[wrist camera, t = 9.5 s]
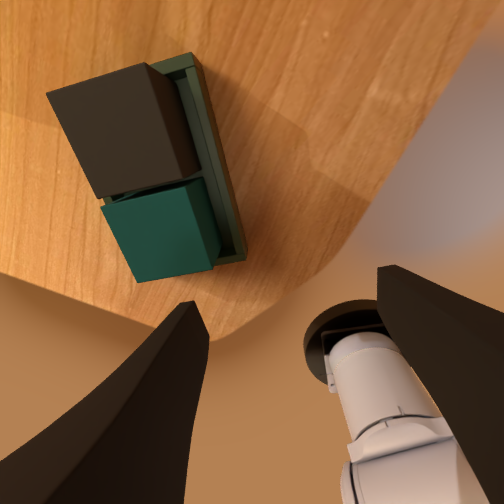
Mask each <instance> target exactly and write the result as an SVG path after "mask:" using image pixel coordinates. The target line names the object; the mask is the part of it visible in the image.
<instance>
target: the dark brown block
mask: <svg viewBox="0 0 504 504" xmlns="http://www.w3.org/2000/svg"><path fill="white" fill-rule="evenodd" d="M46 96H47V98H48V100H49V102H50V104H51V106H52V108H53V110H54V112H55V114H56V116H57V118H58V120H59V122H60V124H61V126H62V128H63V130H64V132H65V134H66V136H67V138H68V140H69V142H70V145H71V147H72V149H73V151H74V153H75V155H76V157H77V159H78V161H79V163H80V165H81V167H82V169H83V171H84V173H85V175H86V177H87V179H88V181H89V183H90V185H91V187H92V189H93V192H94V194H95V196H96V198H97V199H101V198H105V197H109V196H114V195H118V194H122V193H126V192H130V191H135V190H139V189H143V188H147V187H151V186H156V185H160V184H164V183H168V182H172V181H177V180H181V179H184V178H186V177H188V176H190V175H192V174H194V173H196V172H198V171H200V170H202V168H201V164H200V161H199V158H198V154H197V151H196V148H195V144H194V141H193V137H192V134H191V131H190V127H189V124H188V121H187V117H186V114H185V110H184V107H183V104H182V100H181V97H180V94H179V90H178V87H177V84H176V82H174V81H173V80H171V79H169V78H168V77H166V76H165V75H163V74H162V73H160V72H159V71H157V70H156V69H154V68H153V67H151V66H150V65H148V64H146V63H145V62H143V63H140V64H137V65H134V66H130V67H127V68H124V69H121V70H118V71H114V72H111V73H108V74H105V75H102V76H98V77H95V78H92V79H89V80H86V81H82V82H79V83H76V84H73V85H70V86H66V87H63V88H60V89H57V90H54V91H50V92H47V93H46Z"/></svg>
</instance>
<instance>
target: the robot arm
mask: <svg viewBox="0 0 504 504" xmlns="http://www.w3.org/2000/svg"><path fill="white" fill-rule="evenodd" d="M377 270H378V272H377V275H378V276H377V311H378V313H379V315H380V317H381V319H382V321H383V323H380V324H373V325H366V326H359V327H351V328H344V329H337V330H330V331H324V332H322V334H321V338H322V345H323V352H324V359H325V366H326V373H327V381H328V386H329V391H330V392H331V393H338V394H339V398H340V401H341V405H342V408H343V411H344V415H345V418H346V422H347V425H348V428H349V432H350V435H351V438H352V443H350V444H348V445H347V447H348V451H349V455H350V458H351V461H347V462H345V463H344V465H343V469H342V474H341V480H340V486H341V495H342V501H343V504H504V313H503V312H500V311H498V310H495V309H493V308H490V307H488V306H485V305H483V304H480V303H478V302H476V301H473V300H471V299H469V298H467V297H464V296H462V295H460V294H457V293H455V292H453V291H451V290H449V289H446V288H444V287H442V286H440V285H438V284H436V283H433V282H431V281H429V280H427V279H425V278H423V277H421V276H419V275H417V274H414V273H412V272H410V271H408V270H406V269H404V268H402V267H399V266H397V265H389V266H384V267H378V269H377ZM209 337H210V336H209V334H208V331H207V329H206V327H205V324H204V322H203V320H202V317H201V315H200V313H199V310H198V308H197V306H196V303H195V301H188V302H182V303H180V304H179V305H178V306H176V308H175V309H174V310H173V311H172V312H171V313H170V314H169V315H168V316H167V317H166V318H165V319H164V320H163V321H162V323H161V324H160V325H159V326H158V327H157V328H156V329H155V330H154V331H153V333H151V335H150V336H149V337H148V338H147V339H146V340H145V341H144V342H143V343H142V344H141V345H140V346H139V347H138V348H137V349H136V350H135V351H134V352H133V353H132V354H131V355H130V356H129V357H128V358H127V359H126V360H125V361H124V362H123V363H122V364H121V365H120V366H119V367H118V368H117V369H116V370H115V371H114V372H113V373H112V374H111V375H110V376H109V377H108V378H106V379H105V380H104V381H103V382H102V383H101V384H100V385H99V386H97V387H96V388H95V389H94V390H93V391H92V392H91V393H90V394H88V395H87V396H86V397H85V398H83V400H81V401H80V402H78V403H77V404H76V405H75V406H74V407H72V408H71V409H70V410H69V411H67V412H66V413H65V414H63V415H62V416H61V417H60V418H58V419H57V420H56V421H55V422H53V423H52V424H51V425H50V426H49V427H47V428H46V429H44V430H43V431H42V432H40V433H39V434H38V435H36V436H35V437H34V438H32V439H31V440H29V441H28V442H27V443H25V444H24V445H23V446H21V447H20V448H18V449H17V450H16V451H14V452H13V453H11V454H10V455H8V456H7V457H6V458H4V459H3V460H1V461H0V504H184V495H185V485H186V476H187V467H188V459H189V452H190V444H191V437H192V431H193V425H194V420H195V415H196V411H197V406H198V401H199V397H200V393H201V388H202V383H203V379H204V374H205V370H206V365H207V359H208V350H209ZM325 339H327V340H325ZM401 352H402V353H401ZM402 354H403V355H404V356H403V355H402ZM404 357H405V358H406V360H407V361H408V362H409V364H410V365H411V367H412V368H413V370H414V371H415V373H416V374H417V376H418V377H419V379H420V380H421V382H422V383H423V385H424V386H425V387H426V389H427V390H428V392H429V393H430V395H431V397H432V398H433V400H434V402H435V403H436V405H437V406H438V408H439V410H440V412H441V413H442V415H443V416H442V415H441V414H440V412H439V411H438V409H437V408H436V406H435V404H434V403H433V401H432V400H431V398H430V397H429V395H428V394H427V392H426V391H425V389H424V387H423V386H422V384H421V383H420V381H419V380H418V378H417V377H416V375H415V374H414V372H413V370H412V369H411V367H410V366H409V364H408V363H407V361H406V360H405V358H404Z"/></svg>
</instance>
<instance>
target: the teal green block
mask: <svg viewBox="0 0 504 504" xmlns="http://www.w3.org/2000/svg"><path fill="white" fill-rule="evenodd" d="M100 208H101V210H102V212H103V214H104V216H105V218H106V220H107V222H108V224H109V226H110V228H111V230H112V233H113V235H114V237H115V239H116V241H117V243H118V245H119V247H120V249H121V251H122V253H123V255H124V257H125V259H126V261H127V263H128V265H129V267H130V269H131V271H132V273H133V275H134V277H135V279H136V281H137V283H141V282H147V281H152V280H158V279H163V278H169V277H174V276H180V275H185V274H191V273H196V272H202V271H207V270H212V269H213V267H214V265H215V262H216V260H217V257H218V255H219V252H220V249H221V247H222V244H223V241H222V237H221V234H220V231H219V227H218V224H217V220H216V217H215V214H214V210H213V207H212V204H211V200H210V197H209V194H208V190H207V187H206V184H205V180H204V177H203V176H202V177H198V178H194V179H190V180H185V181H181V182H177V183H173V184H169V185H164V186H160V187H156V188H152V189H147V190H143V191H139V192H135V193H133V194H131V195H128V196H126V197H123V198H121V199H118V200H116V201H113V202H111V203H109V204H106V205H104V206H101V207H100Z"/></svg>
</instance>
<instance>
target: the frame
mask: <svg viewBox="0 0 504 504" xmlns="http://www.w3.org/2000/svg"><path fill="white" fill-rule="evenodd" d="M150 66H151V67H153V68H154V69H156V70H157V71H159V72H160V73H162V74H163V75H165V76H166V77H168V78H169V79H171V80H173V81H174V82H176V84H177V87H178V90H179V94H180V97H181V100H182V104H183V107H184V110H185V114H186V117H187V121H188V124H189V127H190V131H191V134H192V137H193V141H194V144H195V148H196V151H197V154H198V158H199V161H200V164H201V168H202V170H200V171H198V172H196V173H194V174H192V175H190V176H188V177H186V178H184V179H181V180H177V181H172V182H168V183H164V184H160V185H156V186H151V187H147V188H143V189H139V190H135V191H130V192H126V193H122V194H118V195H114V196H109V197H105V198H103V200H104V202H105V204H109V203H111V202H113V201H116V200H118V199H121V198H123V197H126V196H128V195H131V194H133V193H135V192H139V191H143V190H147V189H152V188H156V187H160V186H164V185H169V184H173V183H177V182H181V181H185V180H190V179H194V178H198V177H202V176H203V177H204V180H205V184H206V187H207V190H208V194H209V197H210V200H211V204H212V207H213V210H214V214H215V217H216V220H217V224H218V227H219V231H220V234H221V237H222V241H223V244H222V247H221V249H220V252H219V255H218V257H217V260H216V262H215V265H214V266H218V265H223V264H228V263H234V262H239V261H245V260H246V258H247V252H248V247H247V243H246V239H245V235H244V231H243V227H242V223H241V219H240V216H239V212H238V208H237V204H236V200H235V196H234V192H233V188H232V184H231V180H230V176H229V172H228V168H227V165H226V161H225V157H224V153H223V149H222V145H221V141H220V137H219V133H218V129H217V125H216V121H215V117H214V114H213V110H212V106H211V102H210V98H209V94H208V90H207V86H206V82H205V78H204V74H203V70H202V66H201V63H200V62H199V61H198V59H197V58H196V57H195V56H194V55H193V53H192V52H189V53H186V54H183V55H179V56H176V57H173V58H170V59H167V60H163V61H160V62H157V63H154V64H150Z"/></svg>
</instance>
